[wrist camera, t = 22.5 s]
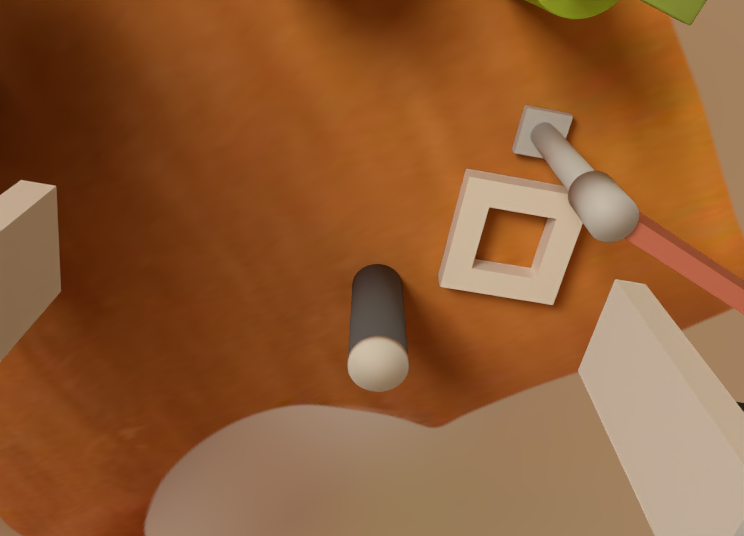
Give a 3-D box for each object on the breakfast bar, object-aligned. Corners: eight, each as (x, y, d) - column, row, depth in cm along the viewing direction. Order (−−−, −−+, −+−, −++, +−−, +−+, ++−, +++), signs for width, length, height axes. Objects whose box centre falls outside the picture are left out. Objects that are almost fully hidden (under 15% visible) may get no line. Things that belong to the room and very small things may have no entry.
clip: (722, 304, 43) (754, 338, 39) (558, 199, 39) (576, 226, 36) (755, 272, 42) (790, 304, 38) (588, 162, 38) (610, 186, 35)
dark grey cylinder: (348, 303, 58) (343, 386, 48) (356, 260, 56) (353, 337, 46) (396, 311, 59) (401, 395, 48) (406, 268, 57) (414, 347, 46)
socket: (438, 275, 57) (454, 363, 45) (484, 97, 50) (518, 147, 38) (547, 293, 58) (590, 384, 46) (609, 120, 51) (678, 177, 39)
